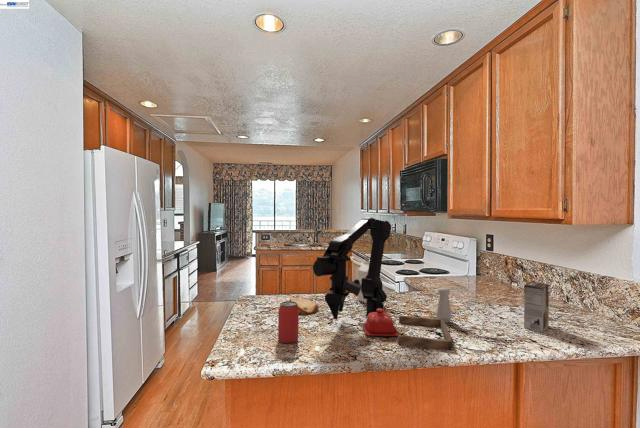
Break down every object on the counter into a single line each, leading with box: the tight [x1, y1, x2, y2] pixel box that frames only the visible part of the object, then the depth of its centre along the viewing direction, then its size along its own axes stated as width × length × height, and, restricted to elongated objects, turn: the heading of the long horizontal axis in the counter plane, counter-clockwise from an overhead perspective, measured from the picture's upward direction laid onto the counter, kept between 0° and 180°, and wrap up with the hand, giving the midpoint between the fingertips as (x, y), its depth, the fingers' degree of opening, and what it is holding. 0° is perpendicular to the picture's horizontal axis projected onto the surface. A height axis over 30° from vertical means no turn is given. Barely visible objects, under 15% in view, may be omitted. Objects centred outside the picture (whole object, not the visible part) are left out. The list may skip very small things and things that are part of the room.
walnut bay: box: [397, 314, 453, 351], centre depth 110 cm, size 16×22×2 cm
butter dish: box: [362, 308, 400, 337], centre depth 112 cm, size 12×12×8 cm
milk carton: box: [357, 260, 370, 304], centre depth 152 cm, size 7×7×19 cm
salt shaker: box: [435, 287, 453, 324], centre depth 124 cm, size 6×6×13 cm
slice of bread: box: [288, 297, 319, 316], centre depth 140 cm, size 18×18×4 cm
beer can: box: [277, 300, 300, 344], centre depth 104 cm, size 7×7×12 cm
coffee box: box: [523, 281, 550, 333], centre depth 118 cm, size 9×6×16 cm
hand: (338, 315), depth 118 cm, fingers open, 9 cm apart
